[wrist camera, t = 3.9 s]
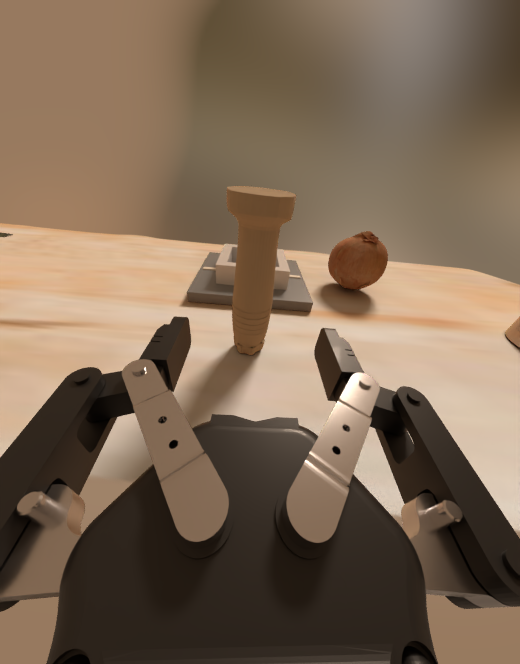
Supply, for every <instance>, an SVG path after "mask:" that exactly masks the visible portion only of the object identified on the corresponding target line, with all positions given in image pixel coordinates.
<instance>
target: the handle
mask: <svg viewBox="0 0 520 664" xmlns="http://www.w3.org/2000/svg"><path fill="white" fill-rule="evenodd" d="M295 199H296V194H293V193H290V192H286V191H281V190H274V189H267V188H259V187H247V186H245V187H244V186H232V187H227V207H228V211H229V212H230V213H232V214H233V215H234V216H235V217H236V218H237V220H238V223H239V229H238V231H239V233H238V246H237V258H236V269H235V279H234V290H233V302H232V318H233V319H232V321H233V332H234V343H235V345H236V346H237V350H238V352H240V353H245V354H249V355H254V353H255V352H257V351H260V350H261V349H262V347H263V345H264V338H265V335H266V332H267V328H268V324H269V319H270V314H271V308H272V301H273V290H274V278H275V267H276V257H277V246H278V238H279V232H280V227H281V226H282V224H284V223H286V222H288V221H290V220H291V218H292V214H293V210H294V205H295Z"/></svg>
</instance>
